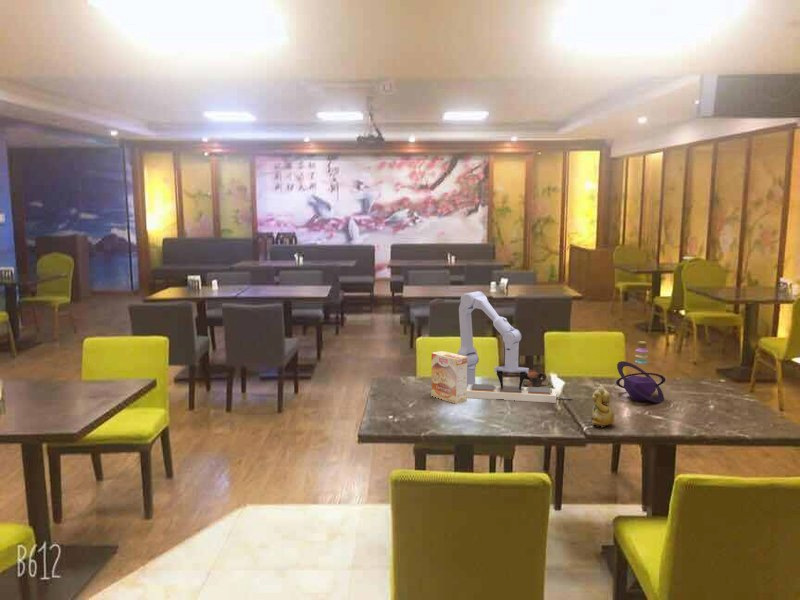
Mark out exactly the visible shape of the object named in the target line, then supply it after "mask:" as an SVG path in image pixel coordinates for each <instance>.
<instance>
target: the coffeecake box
mask: <svg viewBox="0 0 800 600" xmlns="http://www.w3.org/2000/svg"><path fill="white" fill-rule="evenodd" d="M430 391H431V393H430V395H431V397H432V396H433V397H432V398H435V397H436V398H435V399H438V398H439V399H438V400H441V399H442V401H446V402H448V403H451V402H452V403H451V404H454V403H455V405H457V403H458V404H460V402H461V403H465V402H467V401H468V398H467V356H462V355H458V353H453V352H449V351H445V350H440V351H435V352H434V351H433V352H431V389H430ZM464 401H465V402H464Z"/></svg>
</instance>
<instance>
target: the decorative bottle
mask: <svg viewBox="0 0 800 600" xmlns="http://www.w3.org/2000/svg"><path fill="white" fill-rule="evenodd" d="M647 344H648V343H647V341H644V340H643V341H641V340H639V341H637V345H638V346H637V348H635V350H634V351H635V353H637V354H635V355H634V357H635V358H637V359H635V361H634V363H635V364H637V365H638V364H640V365H647V364H649V362H648V361H647V360H646V359H648V358H649V355H647V354H646V353H649V352H650V351H649V350H648V349H647ZM634 363H631V362H628V361H619V362H618V363H617V364H616V367H617V371H618V374H619V375H620V378H618V379H617V380H616V382H615V384H616V385H617V386H618V387H619V388H622V389H624V390H625V391H626V393H627V394H628V395H629V397H630V398H631V399H632V400H633V401H639V402H646V401H650V402H653V403H655V404H657V403H658V404H661V403H662V402H664V399H665V397H664V393H663V390H662V389H661V387H660V386H661V385H663V384H664V383H666V380H667V379H666V378H665V376H664V375H661V374H659V373H653V372H647V371H644V369H642V368H641V367H640V366H639V367H638V366H637V365H635V364H634ZM625 367H630V368H633V369H635V370H636V371H638V372H637V373H636V372H635V373H633V372H631V373H629V374H626V375H625V373H624V368H625ZM650 375H651V376H656V377H659V378H660V379H661V381H660V382H658V383H657V382H656V381H655V380H654V378H653V377H651V376H650ZM622 380H623V385H621V381H622ZM655 391H657V396H656V397H651V396H653V394H654V393H655Z"/></svg>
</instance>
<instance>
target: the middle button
mask: <svg viewBox="0 0 800 600" xmlns="http://www.w3.org/2000/svg"><path fill="white" fill-rule="evenodd" d="M499 386H500V392H504V393H522V387H523V386H521V390H520V389H519V386H515V385H503V389H501V385H499Z"/></svg>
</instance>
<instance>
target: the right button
mask: <svg viewBox="0 0 800 600" xmlns="http://www.w3.org/2000/svg"><path fill="white" fill-rule="evenodd" d="M527 387H528V386H527ZM550 389H551V387H541V386H540V387H528V394H542V395H551V392H550Z"/></svg>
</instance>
